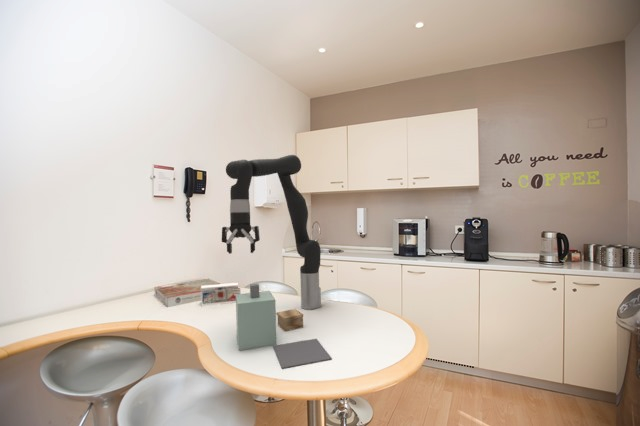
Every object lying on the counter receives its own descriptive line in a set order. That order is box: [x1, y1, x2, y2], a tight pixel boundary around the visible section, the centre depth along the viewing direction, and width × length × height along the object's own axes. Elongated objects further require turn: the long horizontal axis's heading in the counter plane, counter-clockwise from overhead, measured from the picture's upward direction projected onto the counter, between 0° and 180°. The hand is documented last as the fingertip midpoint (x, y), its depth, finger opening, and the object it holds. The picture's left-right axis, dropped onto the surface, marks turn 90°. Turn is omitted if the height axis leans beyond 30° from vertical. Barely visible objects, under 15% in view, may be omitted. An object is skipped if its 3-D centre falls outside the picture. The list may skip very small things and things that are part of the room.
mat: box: [272, 338, 333, 370], centre depth 100 cm, size 16×16×1 cm
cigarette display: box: [200, 282, 242, 307], centre depth 160 cm, size 20×6×9 cm, turn 105°
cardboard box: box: [276, 308, 304, 332], centre depth 124 cm, size 8×8×5 cm
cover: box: [235, 283, 277, 351], centre depth 111 cm, size 13×13×20 cm
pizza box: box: [154, 278, 221, 308], centre depth 177 cm, size 32×5×32 cm
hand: (241, 253), depth 117 cm, fingers open, 8 cm apart
